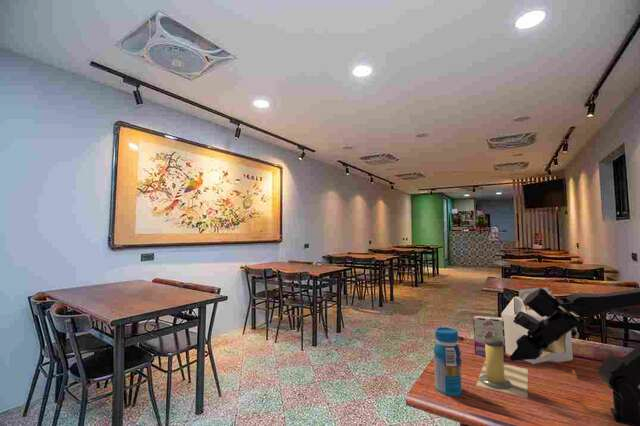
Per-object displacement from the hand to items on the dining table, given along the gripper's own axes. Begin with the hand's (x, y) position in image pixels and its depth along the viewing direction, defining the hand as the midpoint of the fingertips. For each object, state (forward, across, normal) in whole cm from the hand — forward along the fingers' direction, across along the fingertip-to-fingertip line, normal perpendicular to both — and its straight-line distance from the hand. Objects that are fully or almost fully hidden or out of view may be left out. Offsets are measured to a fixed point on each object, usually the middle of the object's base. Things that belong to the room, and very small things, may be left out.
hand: (514, 355), depth 101 cm
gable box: (+10, -38, +7) cm, 40 cm away
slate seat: (+12, 0, +3) cm, 12 cm away
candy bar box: (+20, -24, -3) cm, 31 cm away
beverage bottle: (+19, +16, -2) cm, 25 cm away
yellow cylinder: (+11, 0, +3) cm, 11 cm away
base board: (+12, -6, +4) cm, 14 cm away
